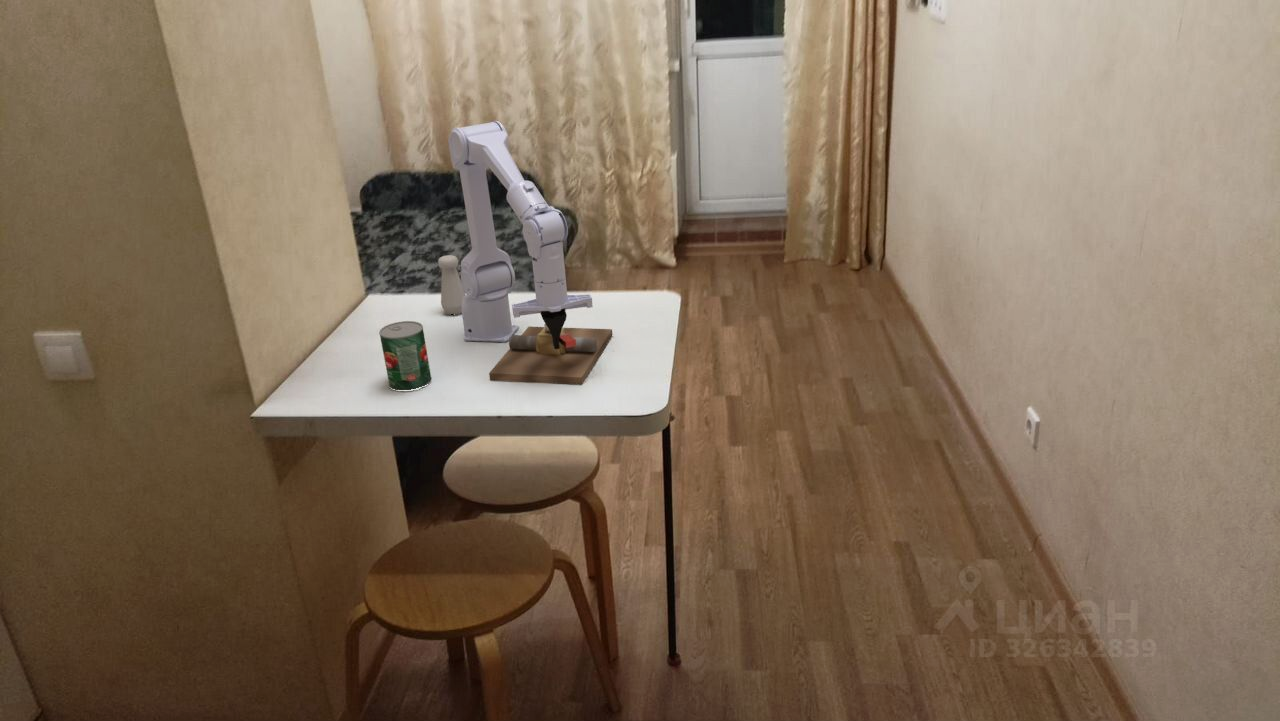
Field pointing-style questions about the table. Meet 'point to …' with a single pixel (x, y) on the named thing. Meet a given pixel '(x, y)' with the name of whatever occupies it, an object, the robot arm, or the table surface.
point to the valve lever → (564, 339)
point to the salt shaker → (451, 285)
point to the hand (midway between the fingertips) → (556, 347)
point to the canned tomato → (405, 355)
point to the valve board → (551, 356)
